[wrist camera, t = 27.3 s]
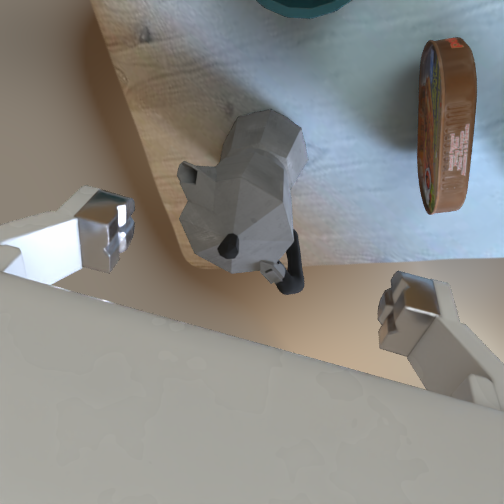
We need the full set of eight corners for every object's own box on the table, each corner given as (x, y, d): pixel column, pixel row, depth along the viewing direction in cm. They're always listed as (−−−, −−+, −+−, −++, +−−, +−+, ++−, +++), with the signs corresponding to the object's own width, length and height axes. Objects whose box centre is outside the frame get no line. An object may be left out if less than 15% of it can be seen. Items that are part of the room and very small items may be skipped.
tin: (420, 31, 36) (435, 55, 29) (461, 24, 35) (485, 47, 28) (415, 187, 44) (426, 232, 38) (448, 184, 44) (464, 230, 37)
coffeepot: (194, 125, 45) (122, 217, 31) (262, 71, 40) (215, 150, 26) (279, 227, 51) (251, 342, 37) (347, 190, 46) (345, 306, 32)
